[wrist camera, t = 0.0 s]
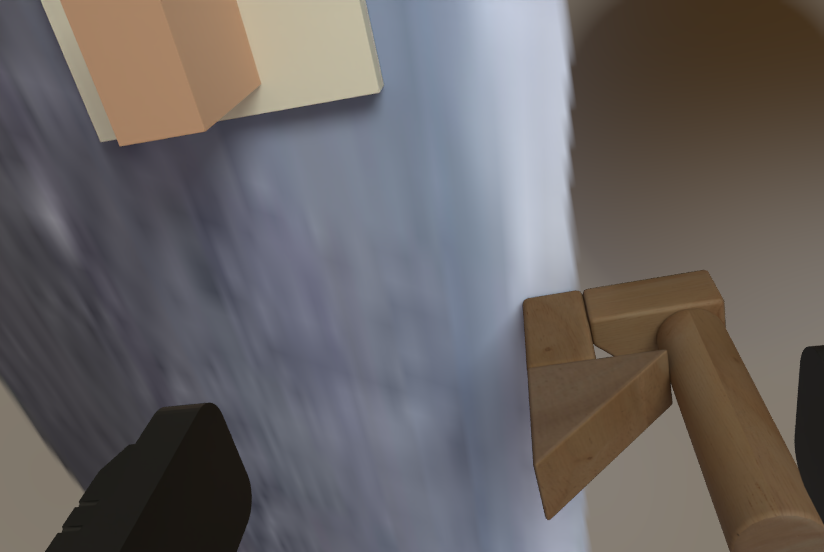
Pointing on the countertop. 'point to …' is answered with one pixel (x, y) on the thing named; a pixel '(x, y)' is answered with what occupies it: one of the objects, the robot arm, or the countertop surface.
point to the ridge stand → (210, 60)
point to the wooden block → (660, 403)
